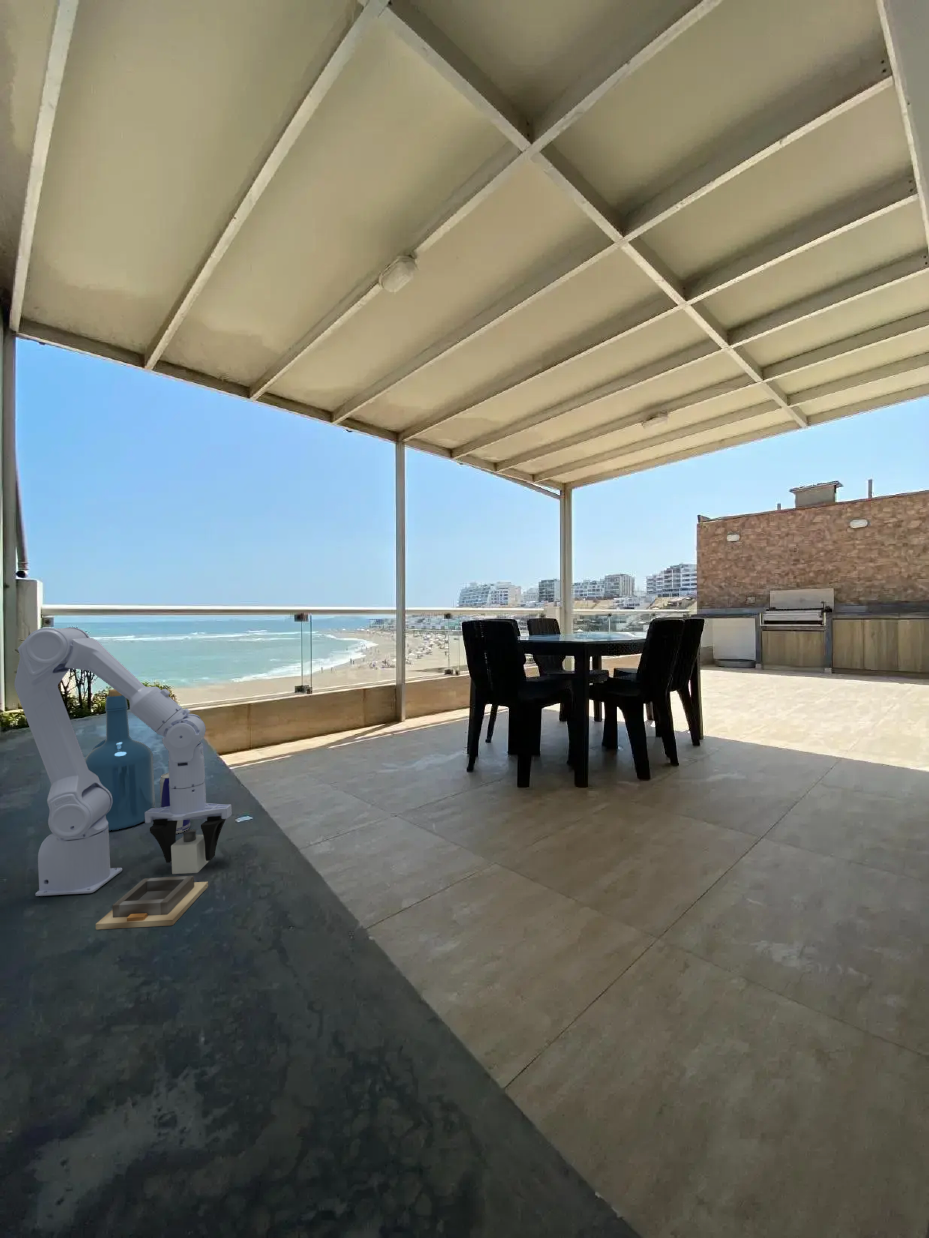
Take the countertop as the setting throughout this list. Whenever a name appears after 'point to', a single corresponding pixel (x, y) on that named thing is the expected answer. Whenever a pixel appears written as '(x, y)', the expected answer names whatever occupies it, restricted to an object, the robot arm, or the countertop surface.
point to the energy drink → (165, 802)
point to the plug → (188, 853)
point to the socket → (153, 903)
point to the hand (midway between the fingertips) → (190, 859)
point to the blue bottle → (123, 767)
